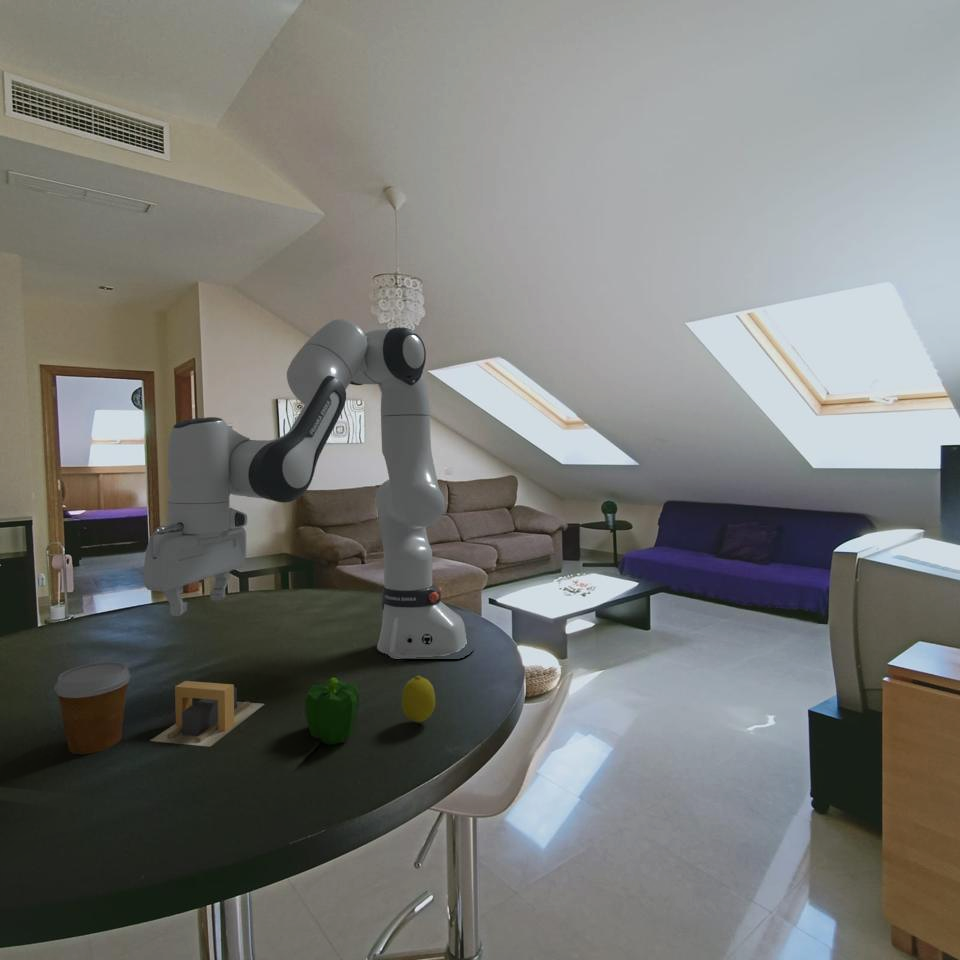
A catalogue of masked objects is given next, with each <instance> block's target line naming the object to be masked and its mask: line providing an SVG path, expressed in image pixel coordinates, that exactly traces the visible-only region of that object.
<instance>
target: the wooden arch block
mask: <svg viewBox="0 0 960 960" xmlns="http://www.w3.org/2000/svg"><path fill="white" fill-rule="evenodd" d="M234 687H235V685H234V684H231V683H230V684H229V683H217V682H203V681H193V680H192V681H191V680H184V681H182V682H180V683H179V684H177V685H175V686H174V692H175V693H174V696H175V699H174V701H175V702H174V703H175V724H176V727H180V726H181V725H182V712H183V711H184V710H186V709H187V708H189V707H190V706H192V705H193V699H200V700H201V699H210V700H218V730H220V731H226V730H227V729H229V728H230V727H231V726H232V725H234Z"/></svg>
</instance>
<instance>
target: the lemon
mask: <svg viewBox="0 0 960 960" xmlns="http://www.w3.org/2000/svg"><path fill="white" fill-rule="evenodd" d="M400 699H401V702H400V703H401V708H402V712H403V714H404V716H405V717H406V718H407V719H408V720H410V721H412V722H414V723H415V722H421V721H422V722H424V721H426V720H428V719H429V718H430V717H431V715H433V712H434V710H435V707H436V693H435V689H434V686H433V684H432V683H431V682H430V681H429V680H428V679H427V678H424V677H422V676H421V675H416V676H415V677H413V678H411V679H410V680H408V681H407V682H406V683H405V685H404V687H403V690H402V694H401V698H400ZM422 722H421V723H422Z"/></svg>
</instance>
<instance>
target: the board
mask: <svg viewBox="0 0 960 960" xmlns="http://www.w3.org/2000/svg"><path fill="white" fill-rule="evenodd" d="M263 706H265V703H255V702H251V701H237V708H236V709H235V710H234V725H232V726H231V727H230V728H229V729H227V730H226V731H220V730H218V722H217V723H215V724H214V725H213V726H211V727H210V728H208V729H207V730H206V731H204V732H203V733H202V734H200V735H199V736H189V735H182V725H181V726H180V727H176V723H174V724H173V725H171V726H170V727H168V728H167V729H165V730H163V731H162V732H161V733H159V734H158V735H156V736H155V737H153V738H152V739H149V742H155V743H166V744H167V743H168V744H178V745H188V746H199V747H208V748H210V747H212V746H213V745H215V744H216V743H217V742H218V741H220V740H221V739H222V738H223V737H225V736H226V735H228V734H229V733H230V732H231V731H232V730H234V729H235V728H236V727H237V726H239V725H240V724H241V723H242V722H244V721H245V720H246V719H247V718H249V717H250V716H252V715H253V714H254V713H255V712H257V711H258V710H259V709H260V708H262V707H263Z"/></svg>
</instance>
